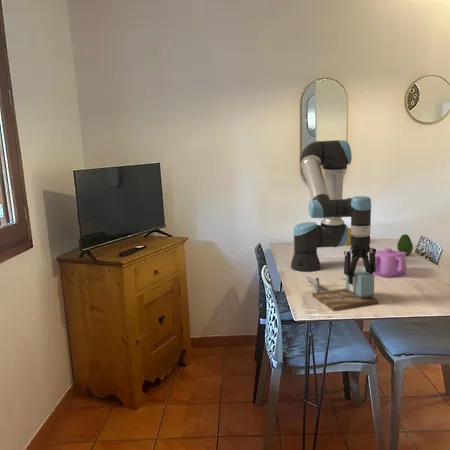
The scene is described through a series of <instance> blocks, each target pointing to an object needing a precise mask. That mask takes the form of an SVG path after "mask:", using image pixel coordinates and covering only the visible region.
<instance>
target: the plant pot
mask: <svg viewBox="0 0 450 450" xmlns="http://www.w3.org/2000/svg"><path fill="white" fill-rule="evenodd" d="M351 235H352V234H351V227H348V237H347V241H346V243H345V244H344V245H343V246H351Z"/></svg>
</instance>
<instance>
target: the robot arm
mask: <svg viewBox="0 0 450 450" xmlns="http://www.w3.org/2000/svg"><path fill="white" fill-rule="evenodd" d="M301 151H302V152H301V154H300V157H299V164H300V167H301V169H302V170H303V172H304V174H305V175H304V176H305V179H306V183H307V186H308V191H309V193H310V199H311V200H310V201H309V203H308V214H309V216H310V218H312V219H321V221H320V224H318V223H317V222H316V221H307V222H301V223H298V224H296V225H294V228H293V234H292V235H293V256H292V258H291V261H290V268H291V269H292V270H294V271H296V272H297V271H299V272H315V271H318V270H320V269H321V262H320V258H319V255H318V249H319V248H338V247H344V246H345V245H344V244H345V243H346V241H347V237H348V228H349V227H348V225H347V224H346V223H345V220H344V219H342V218H350V222H351V223H350V228H351V234H352V235H351V245H350V248H349V249H348V250H344V251H343V254H344V268H343V274H344V275H345V276H346V275H347V276H348V283H349V284H350V291H352V292H355V276H353V275H354V272H355V269H356V267H357V265H358V261H360V259H362V261H363V265H364V271H366V272H368V273H371V274H373V272H375V271H376V263H375V253H376V251H377V248H374V247H371V246H370V245H371V236H370V235H371V226H372V225H371V224H372V223H371V221H372V220H371V219H372V199H371V197H369V196H365V195H364V196H363V195H359V196H357V195H356V196H353V197H348V198H343V189H344V173H345V171H346V170H347V169H348V166H349V165H351V163H352V160H353V159H352V148H351V146H350V144H349V142H348V141H347V140H343V139H342V140H339V139H337V140H335V139H334V140H317V141H312V142H310V143H308V144H307V145H306V146H305V147H304V148H303V150H301ZM321 166H322V168H321ZM323 171H324V172H325V174H323ZM324 175H325V178H324ZM373 275H374V274H373Z"/></svg>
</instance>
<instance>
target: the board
mask: <svg viewBox="0 0 450 450" xmlns="http://www.w3.org/2000/svg"><path fill="white" fill-rule="evenodd" d="M311 295H312V297H313V298H314V299H316V301H319V302H320V303H321V304H322V305H324V306H326V307H328V308H329V309H330V310H332V311H340V310H346V309H354V308H360V307H365V306H372V305H378V304H379V299H377V298H375V296H374V297H369V298H363V299H360V298H359V297H357V296H355V295H353V294H352V293H350V292H348V291H346V287H345V288H339V289H331V290H326V291H319V292H317V291H316V292H313V293H312V294H311Z"/></svg>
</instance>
